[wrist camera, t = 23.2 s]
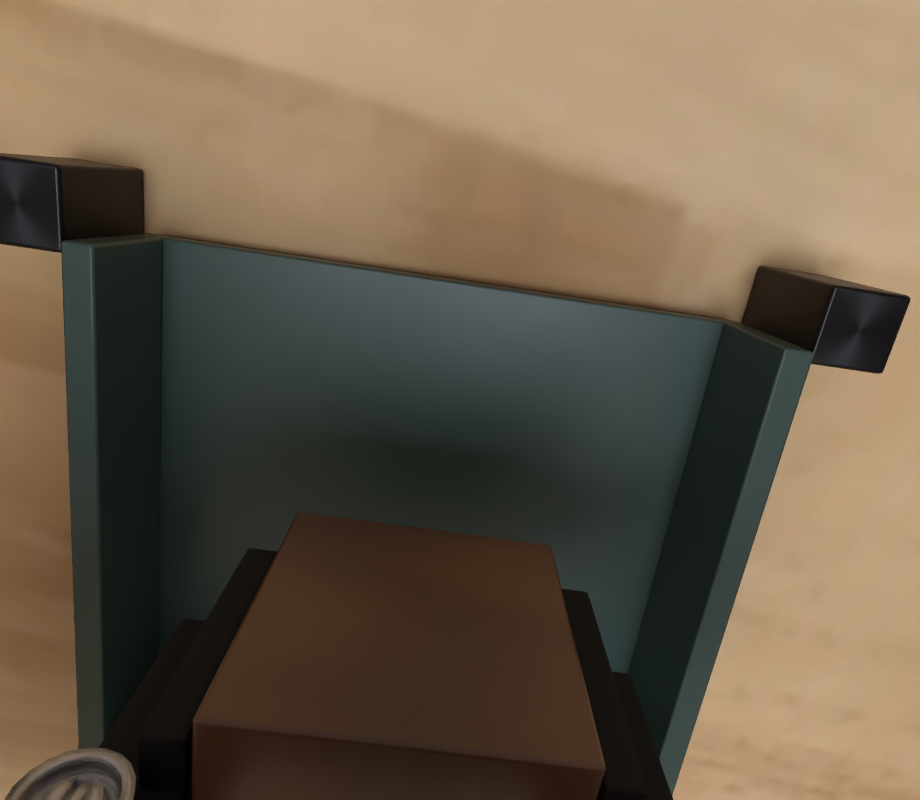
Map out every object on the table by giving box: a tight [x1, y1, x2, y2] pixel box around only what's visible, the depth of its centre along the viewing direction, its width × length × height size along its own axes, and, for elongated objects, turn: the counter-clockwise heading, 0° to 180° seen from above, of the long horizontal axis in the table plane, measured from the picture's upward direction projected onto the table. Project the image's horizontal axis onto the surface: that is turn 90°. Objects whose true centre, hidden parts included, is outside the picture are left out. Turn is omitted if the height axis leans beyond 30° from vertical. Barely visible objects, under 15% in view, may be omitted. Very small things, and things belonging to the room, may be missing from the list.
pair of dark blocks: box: [0, 153, 910, 374], centre depth 13 cm, size 2×18×3 cm, turn 81°
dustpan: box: [61, 233, 814, 795], centre depth 16 cm, size 17×14×4 cm
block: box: [192, 512, 606, 800], centre depth 9 cm, size 4×4×4 cm
